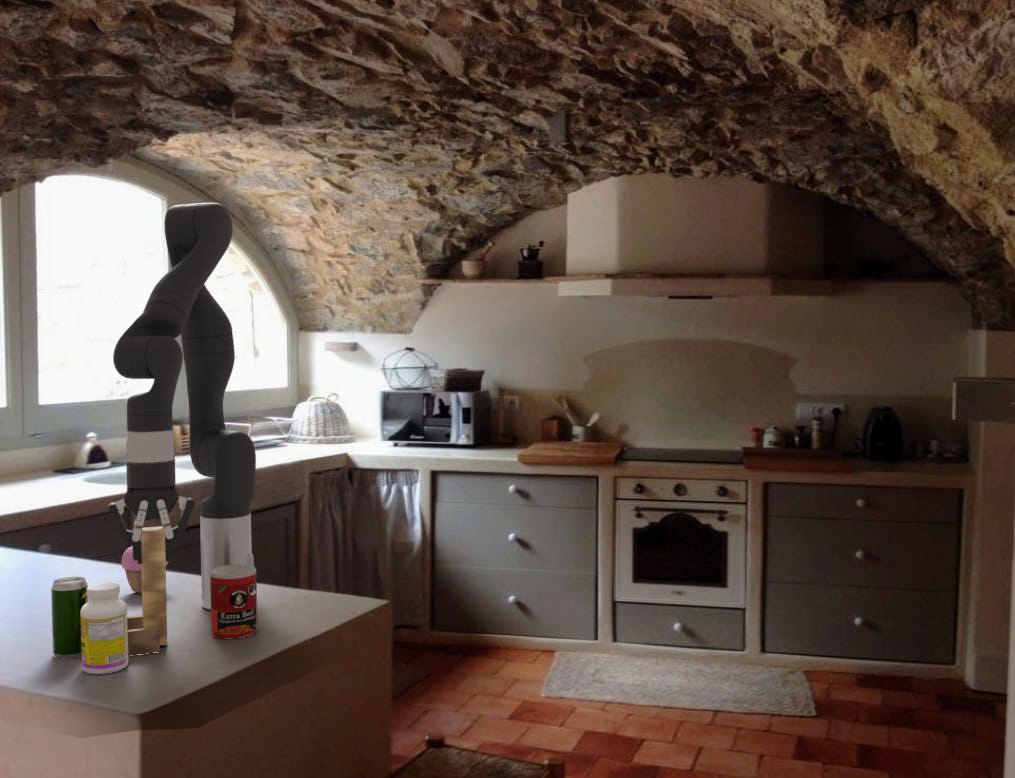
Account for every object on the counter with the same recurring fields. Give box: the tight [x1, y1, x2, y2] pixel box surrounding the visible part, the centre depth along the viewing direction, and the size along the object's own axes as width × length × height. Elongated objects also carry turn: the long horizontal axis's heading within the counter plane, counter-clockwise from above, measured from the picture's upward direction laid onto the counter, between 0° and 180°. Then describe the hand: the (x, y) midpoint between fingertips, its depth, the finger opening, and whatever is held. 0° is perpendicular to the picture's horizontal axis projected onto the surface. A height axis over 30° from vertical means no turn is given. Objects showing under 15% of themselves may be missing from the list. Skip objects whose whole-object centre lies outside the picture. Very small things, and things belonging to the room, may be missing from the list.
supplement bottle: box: [80, 582, 129, 675], centre depth 153 cm, size 7×7×13 cm
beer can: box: [50, 576, 89, 660], centre depth 160 cm, size 5×5×12 cm
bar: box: [140, 525, 168, 646], centre depth 164 cm, size 4×4×19 cm
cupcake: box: [121, 545, 169, 595], centre depth 198 cm, size 9×9×10 cm
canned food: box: [210, 565, 258, 640], centre depth 171 cm, size 8×8×11 cm
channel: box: [127, 614, 161, 657], centre depth 163 cm, size 10×9×4 cm
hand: (153, 561), depth 164 cm, fingers closed on bar, 3 cm apart
